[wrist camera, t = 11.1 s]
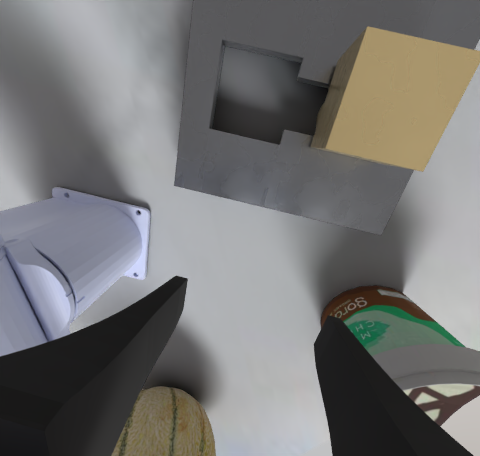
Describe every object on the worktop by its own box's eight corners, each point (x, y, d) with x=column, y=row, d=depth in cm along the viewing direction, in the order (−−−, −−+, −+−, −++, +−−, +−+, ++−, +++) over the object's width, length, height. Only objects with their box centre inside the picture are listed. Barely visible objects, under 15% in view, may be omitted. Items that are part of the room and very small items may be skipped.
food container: (360, 250, 20) (439, 341, 11) (414, 282, 21) (532, 393, 12) (286, 334, 25) (298, 449, 16) (332, 358, 25) (370, 483, 16)
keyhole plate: (186, 179, 20) (174, 185, 17) (213, -32, 15) (200, -73, 12) (364, 222, 19) (381, 235, 17) (456, 21, 14) (503, -9, 11)
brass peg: (302, 146, 18) (325, 148, 11) (323, 76, 16) (367, 26, 9) (361, 160, 18) (423, 171, 11) (389, 92, 16) (485, 52, 9)
